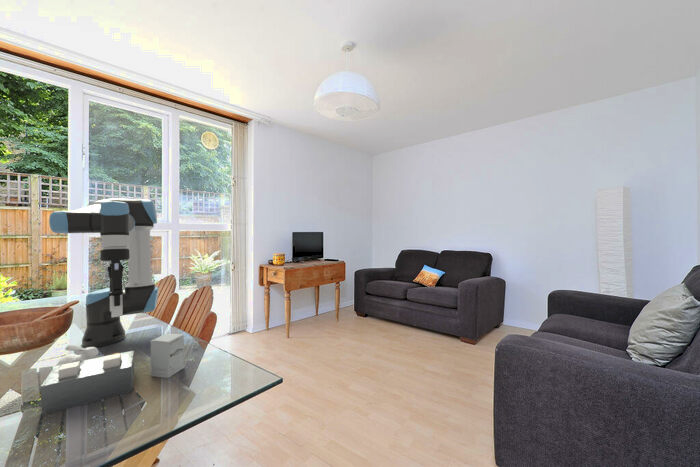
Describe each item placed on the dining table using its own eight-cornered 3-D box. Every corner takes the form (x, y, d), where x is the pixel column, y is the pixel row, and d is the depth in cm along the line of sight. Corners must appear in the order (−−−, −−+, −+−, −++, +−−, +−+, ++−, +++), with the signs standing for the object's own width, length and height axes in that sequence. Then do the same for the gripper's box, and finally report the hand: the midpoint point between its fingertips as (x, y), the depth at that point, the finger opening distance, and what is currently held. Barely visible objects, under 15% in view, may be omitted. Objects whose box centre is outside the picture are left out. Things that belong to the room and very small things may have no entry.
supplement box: (168, 378, 100) (167, 341, 100) (150, 376, 101) (149, 340, 101) (185, 368, 107) (184, 333, 107) (167, 366, 109) (166, 332, 108)
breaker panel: (56, 391, 93) (54, 364, 92) (134, 373, 104) (133, 349, 104) (41, 414, 81) (40, 384, 81) (131, 391, 92) (131, 364, 92)
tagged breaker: (105, 371, 94) (105, 356, 94) (121, 368, 96) (120, 353, 96) (103, 376, 91) (103, 360, 90) (120, 373, 93) (119, 357, 93)
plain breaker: (62, 380, 88) (61, 364, 88) (80, 377, 91) (79, 361, 90) (59, 387, 85) (58, 370, 85) (77, 382, 87) (76, 366, 87)
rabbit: (101, 369, 106) (100, 336, 106) (84, 383, 97) (83, 347, 97) (62, 373, 104) (61, 339, 104) (40, 387, 95) (39, 351, 94)
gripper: (99, 249, 104) (100, 310, 103) (100, 247, 85) (101, 321, 84) (126, 248, 109) (127, 306, 108) (132, 246, 90) (133, 316, 89)
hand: (116, 313), depth 96 cm, fingers open, 13 cm apart
